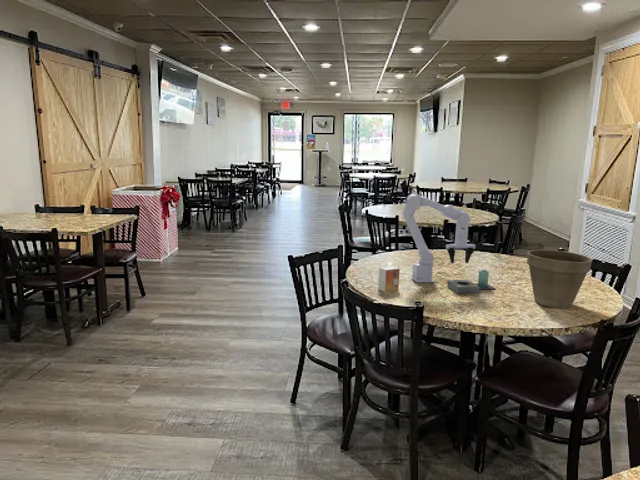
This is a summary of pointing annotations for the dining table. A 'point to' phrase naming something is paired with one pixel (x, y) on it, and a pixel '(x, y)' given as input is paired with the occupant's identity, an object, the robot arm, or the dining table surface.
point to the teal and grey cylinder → (483, 278)
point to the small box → (388, 279)
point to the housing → (463, 287)
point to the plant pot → (557, 276)
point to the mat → (487, 288)
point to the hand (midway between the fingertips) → (459, 262)
